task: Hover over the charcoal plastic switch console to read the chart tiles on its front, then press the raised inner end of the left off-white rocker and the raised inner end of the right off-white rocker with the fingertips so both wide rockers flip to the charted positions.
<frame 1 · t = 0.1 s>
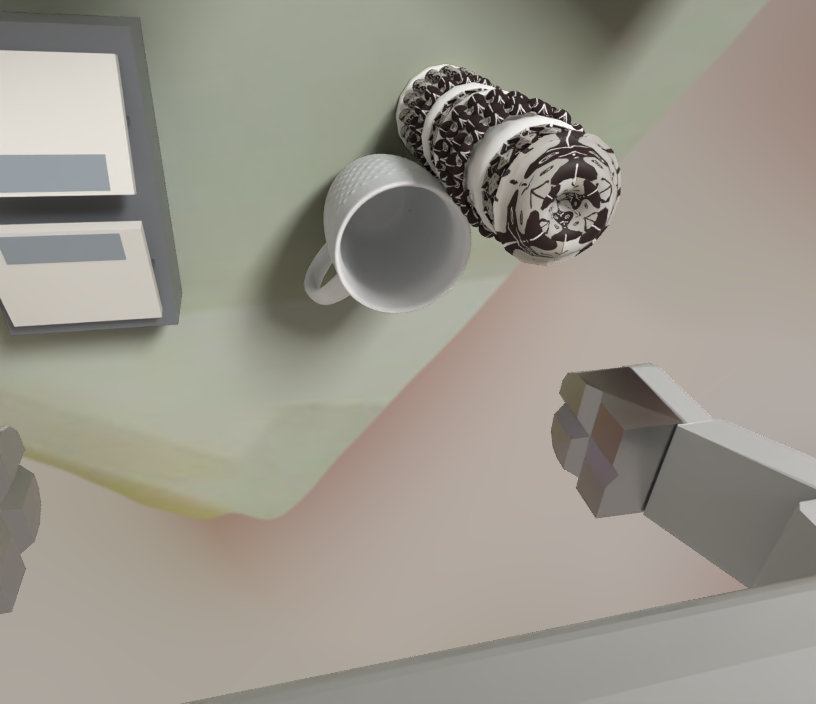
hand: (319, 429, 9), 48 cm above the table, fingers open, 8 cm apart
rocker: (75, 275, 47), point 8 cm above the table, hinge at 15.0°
black and white cylinder: (441, 115, 55), on the table, touching mug
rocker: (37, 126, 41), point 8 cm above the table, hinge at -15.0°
mug: (363, 202, 58), on the table, touching black and white cylinder
switch console: (79, 172, 50), on the table
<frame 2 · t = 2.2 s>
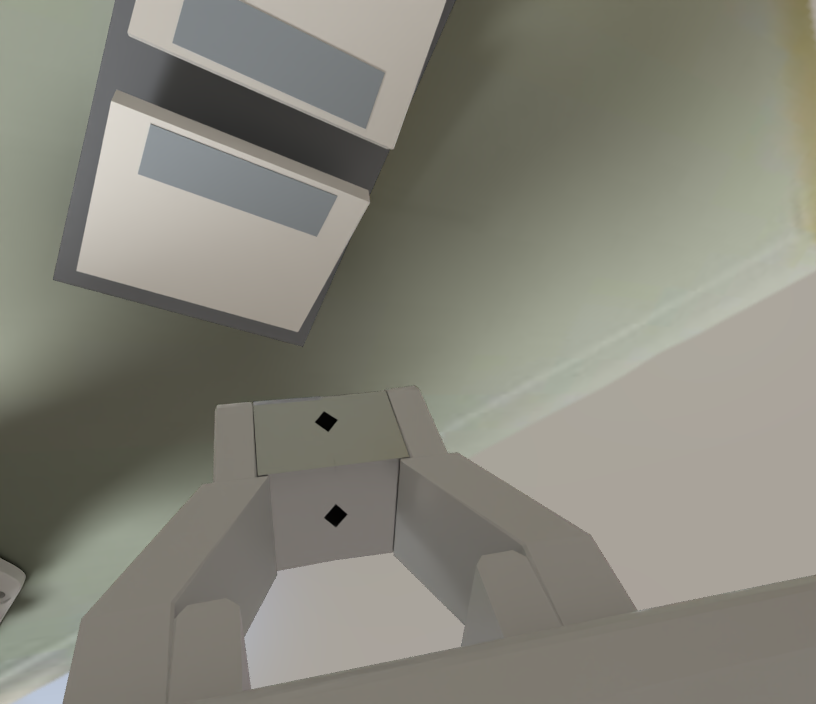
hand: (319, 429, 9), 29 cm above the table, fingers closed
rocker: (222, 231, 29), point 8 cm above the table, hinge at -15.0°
switch console: (254, 84, 33), on the table
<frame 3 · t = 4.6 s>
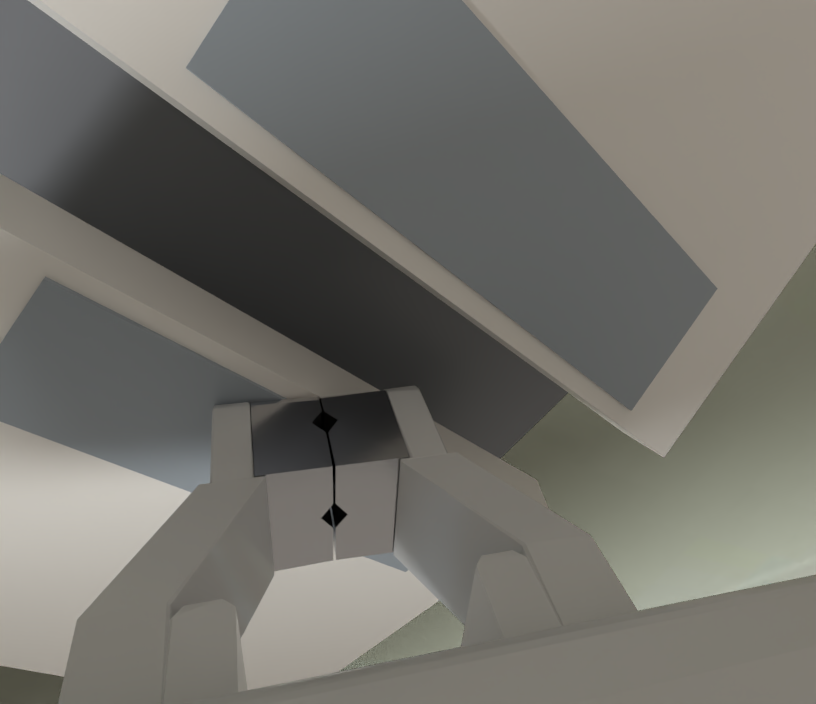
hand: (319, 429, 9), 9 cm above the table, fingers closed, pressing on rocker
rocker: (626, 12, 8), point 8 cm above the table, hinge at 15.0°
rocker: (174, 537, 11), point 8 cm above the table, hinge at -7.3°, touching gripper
switch console: (305, 167, 16), on the table
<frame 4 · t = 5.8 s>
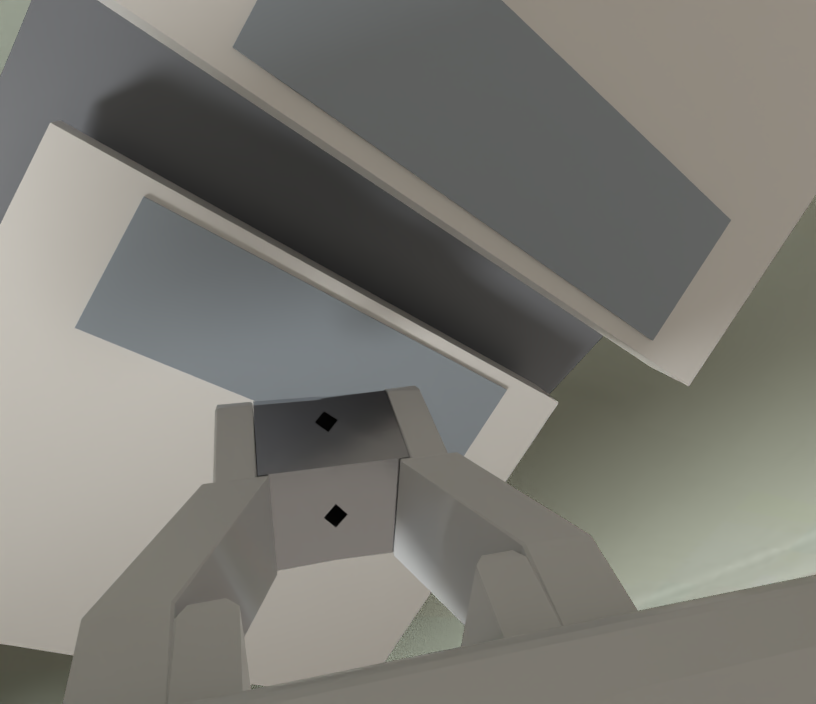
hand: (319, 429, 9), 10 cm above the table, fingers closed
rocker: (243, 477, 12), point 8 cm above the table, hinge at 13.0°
switch console: (340, 142, 17), on the table
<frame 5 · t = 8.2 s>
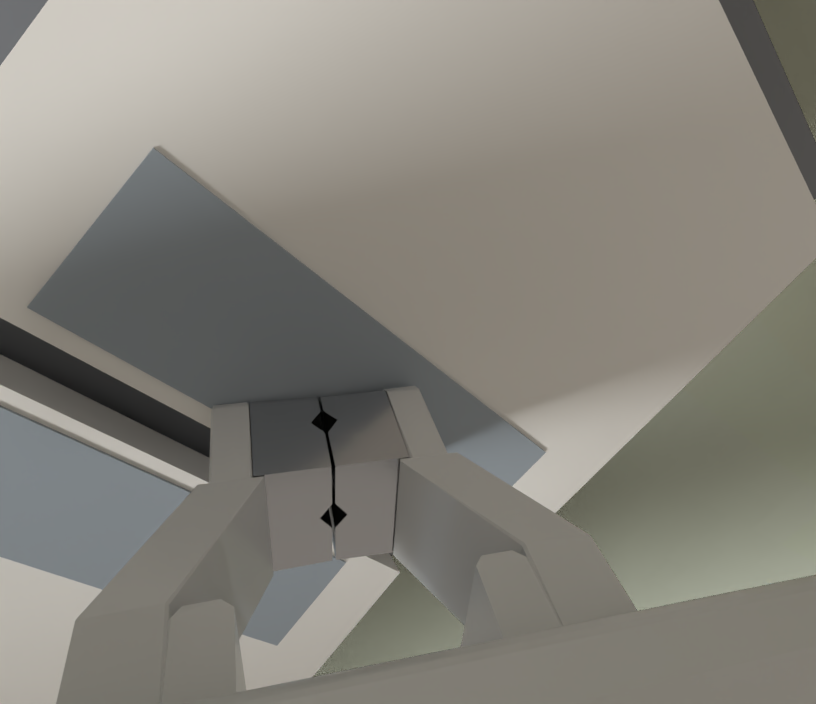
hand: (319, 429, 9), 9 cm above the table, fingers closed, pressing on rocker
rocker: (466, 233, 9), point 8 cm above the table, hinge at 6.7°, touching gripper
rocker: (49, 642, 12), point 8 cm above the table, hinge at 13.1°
switch console: (229, 263, 17), on the table
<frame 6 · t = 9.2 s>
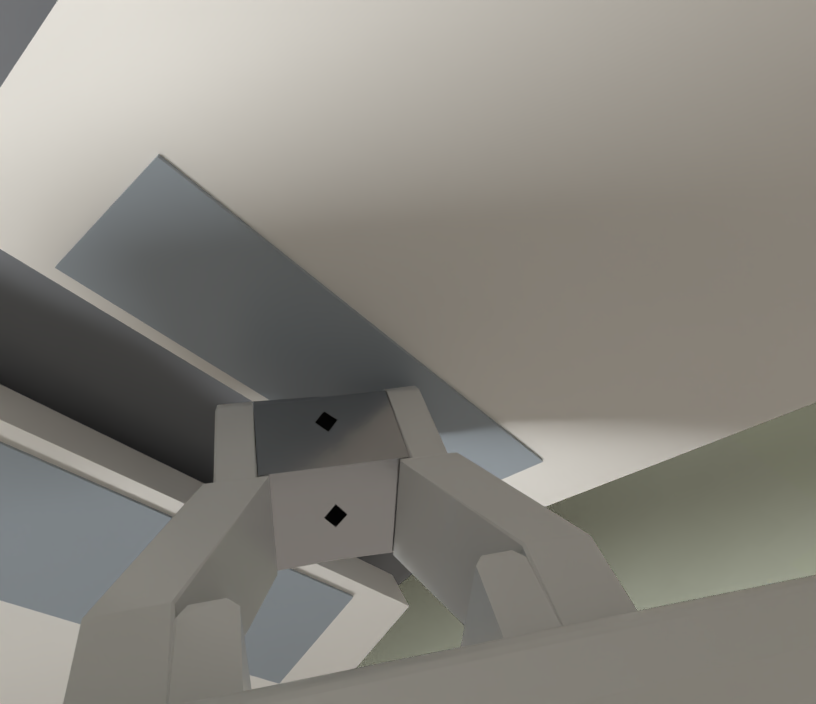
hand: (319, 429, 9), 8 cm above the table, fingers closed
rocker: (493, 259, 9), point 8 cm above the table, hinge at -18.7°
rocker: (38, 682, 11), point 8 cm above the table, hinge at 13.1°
switch console: (233, 276, 16), on the table
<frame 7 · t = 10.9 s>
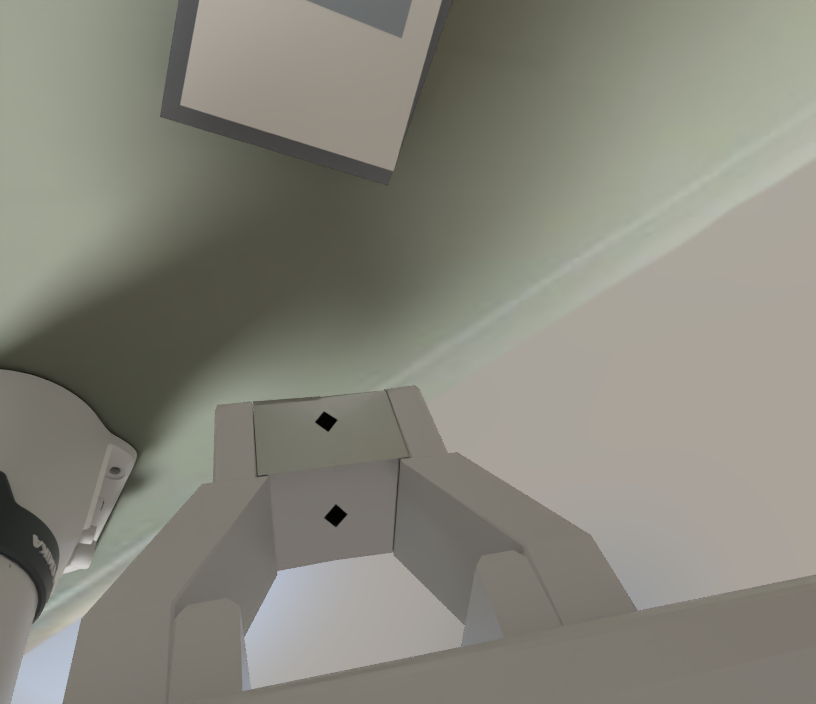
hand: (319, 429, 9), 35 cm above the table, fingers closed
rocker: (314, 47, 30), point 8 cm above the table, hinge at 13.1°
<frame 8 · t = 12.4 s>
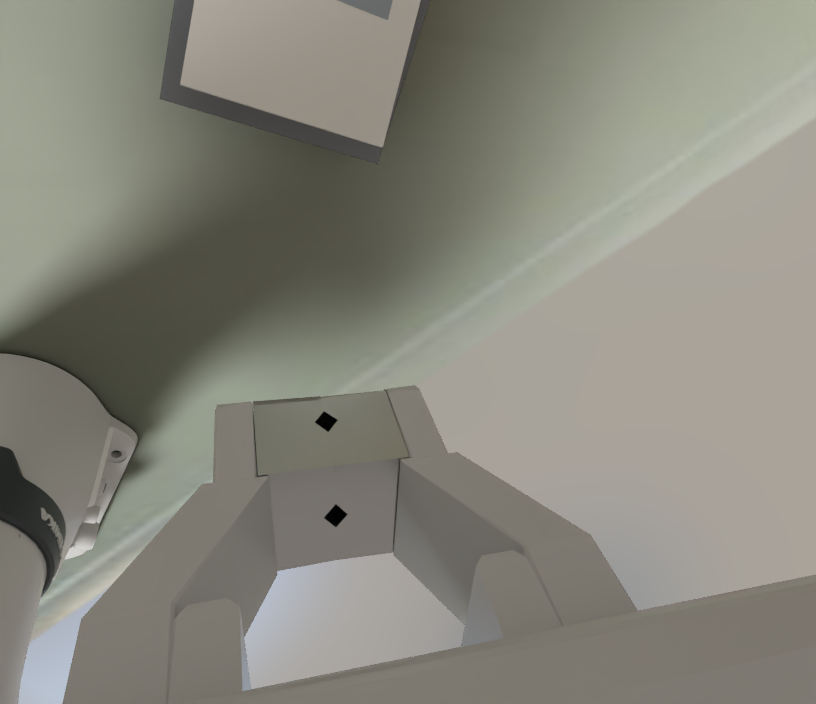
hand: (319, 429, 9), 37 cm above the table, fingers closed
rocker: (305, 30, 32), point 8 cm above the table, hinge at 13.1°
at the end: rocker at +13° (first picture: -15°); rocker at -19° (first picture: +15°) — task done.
